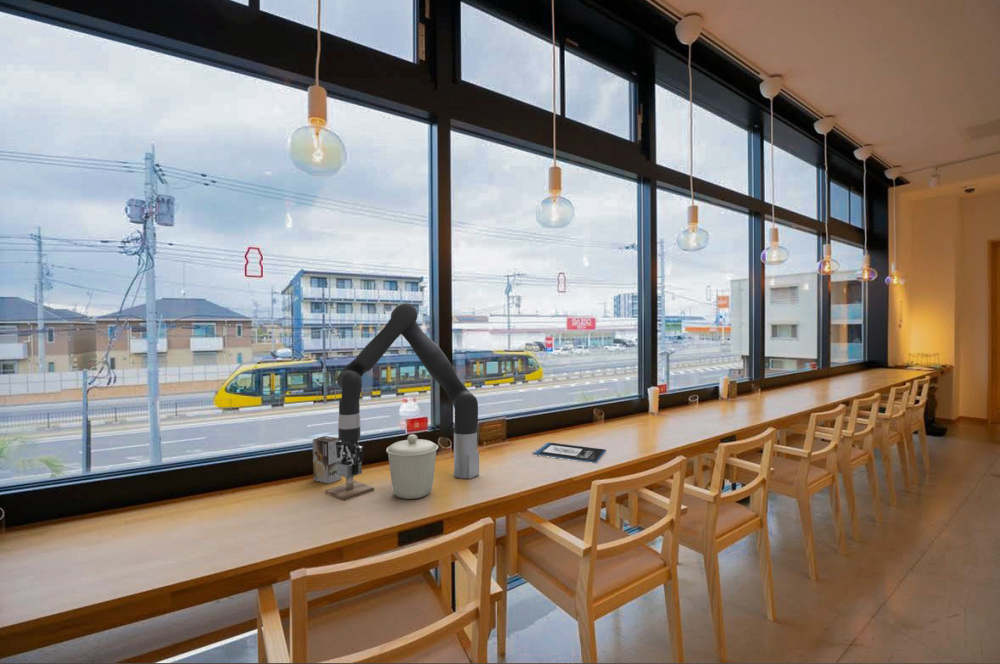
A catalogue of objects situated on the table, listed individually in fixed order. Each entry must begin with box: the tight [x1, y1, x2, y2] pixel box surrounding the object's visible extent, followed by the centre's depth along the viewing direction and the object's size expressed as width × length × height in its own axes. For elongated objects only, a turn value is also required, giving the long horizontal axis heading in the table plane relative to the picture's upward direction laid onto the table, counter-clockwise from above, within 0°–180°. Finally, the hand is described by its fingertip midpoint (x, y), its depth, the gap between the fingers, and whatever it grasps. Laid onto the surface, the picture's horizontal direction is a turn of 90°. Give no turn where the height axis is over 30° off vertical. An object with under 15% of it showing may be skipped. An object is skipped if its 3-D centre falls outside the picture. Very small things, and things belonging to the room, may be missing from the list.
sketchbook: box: [531, 441, 607, 464], centre depth 204 cm, size 22×30×2 cm
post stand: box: [324, 476, 375, 501], centre depth 156 cm, size 12×12×6 cm
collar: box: [337, 459, 363, 479], centre depth 156 cm, size 6×6×4 cm
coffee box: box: [312, 435, 342, 484], centre depth 169 cm, size 9×6×16 cm
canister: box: [385, 434, 439, 500], centre depth 154 cm, size 18×18×21 cm
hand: (349, 472), depth 156 cm, fingers closed on collar, 6 cm apart
